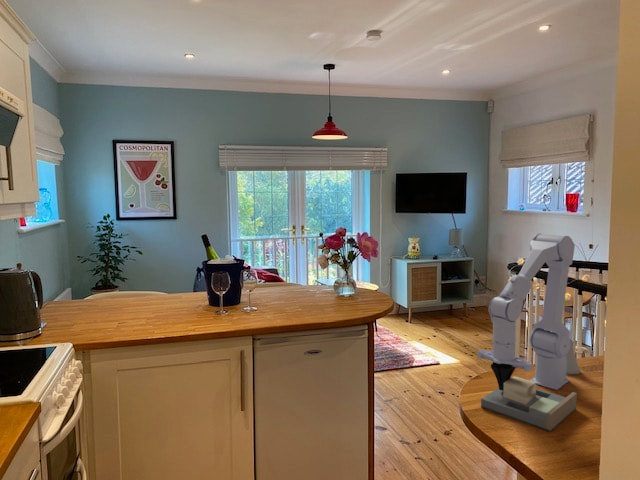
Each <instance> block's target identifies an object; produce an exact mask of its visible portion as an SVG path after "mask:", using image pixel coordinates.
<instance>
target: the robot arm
mask: <svg viewBox="0 0 640 480" xmlns="http://www.w3.org/2000/svg"><path fill="white" fill-rule="evenodd" d="M575 246H576V245H575V243H574V241H573V239H572V238H571V236H569V235H555V234H543V233H541V232H540V233H536V234H534V236H533V237H532V239H531V241H530V243H529V254H528V256H527V257H526V260H525V261H524V263H523V265H522V268H521V269H520V271H519V273H518V274H514V275H512V276H511V278H510V279H509V280H508V282H507V284H506V285H505V286H504V288H503V289H502V291H501V292H500V294H499V296H496V297H493V298H492V299H491V300H490V302H489V306H488V307H487V309H488V313H489V316H490V321H491V323H492V351H491V350H490V351H489V350H485V349H480V350H477V358H478V359H480V360H481V359H485V360H486V361H487V360H488V361H492V363H491V364H490V369H491V370H492V372H493V373H494V375H495V376H494V377H495V378H496V381H497V385H498V388H499V390H502V391H504V382H506V381H507V380H509V379H510V378H512V376H513V373H514V372H515V370H516V369H521V370H524V371H525V372H531V371H532V370H533V362H531V361H527V360H525V359H522V358H520V357H518V356H516V337H517V335H516V333H517V332H516V329H517V328H516V327H517V325H516V324H517V322H516V321H517V320H518V318H520V317H521V314H522V309H523V306H524V303H523V302H524V301H525V299H526V297H527V295H528V294H529V293H530V291H531V289H532V287H533V286H532V282H531V281H532V280H533V278H534V277H536V274H537V273H538V272H539V271H540V270H541V268H542V267H543V265H544V264H546V265H547V267H548V272H547V280H546V287H545V293H544V294H545V295H544V299H543V300H544V301H543V302H544V303H543V308H542V309H543V311H542V316H541V319H540V320H539V321H537V322H535V323H533V327H532V330H531V332H530V334H529V344H530V346H531V348H532V349H533V352H534V353H535V373H534V377H533V378H531V379H529V381H533V382H536V385H538V386H542V387H545V388H548V389H552V390H556V391H557V390H559V389H560V388H562V387H564V385H565V384H567V383H568V382H569V381H571V379H570V378H567V374H566V370H567V359H566V356H565V355H566V354H567V353H568V352H569V350H570V346H571V342H570V339H571V338H570V337H571V331H570V329H568V327H567V326H566V325H565V324H564V323H563V322H562V321H563V314H564V306H565V299H566V294H567V293H566V292H567V286H568V279H569V277H568V276H569V270H570V266H571V265H573V260H574V255H575V254H574V253H575Z"/></svg>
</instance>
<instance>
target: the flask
mask: <svg viewBox="0 0 640 480" xmlns="http://www.w3.org/2000/svg"><path fill="white" fill-rule="evenodd" d="M570 342H571V346H570V350H569V352H568V353H567V354H566V355H565V356H566V359H567V370H566V375H580V373H581V369H580V366H579V364H578V363H579V362H578V361H577V358H576V355H575V350H574V342H575V340H574V339H573V338H570Z"/></svg>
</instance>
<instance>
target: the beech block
mask: <svg viewBox="0 0 640 480" xmlns="http://www.w3.org/2000/svg"><path fill="white" fill-rule="evenodd" d="M536 389H537V384H536V382H533V381H530V379H529V380H528V379H525V378H522V377H520V376H519V377H518V376H515V375H514V376H511V378H510V379H509V380H507V381H506V382H504V393H503V397H505V398H508V399H511V400H514V401H517V402H520V403H523V404H527V403H528V402H529V401H531V400H532V399H534V398H535V397H536Z"/></svg>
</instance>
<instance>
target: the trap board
mask: <svg viewBox="0 0 640 480" xmlns="http://www.w3.org/2000/svg"><path fill="white" fill-rule="evenodd" d="M503 393H504V391H502V390H499V387H497V388H495V390H493V391H491V392H490V393H488V394H486V395H484V396H483V397H481V399H480V401H481V402H480V408H481V409H484V410H487V411H489V412H492V413H496V414H497V415H501V416H504V417H506V418H510V419H512V420H514V421H517V422H521V423H523V424H525V425H529V426H531V427H535V428H537V429H540V430H543V431H545V432H549V433H551V432H553V431H554V430H555V429H556V428H557V427H558V426H559V425H561V424H562V422H564V421H565V420H566V419H567V418H569V417H570V416H571V415H572V414H573V413H574V412H576V410H577V401H578V400H577V397H578V396H577V395H578V394H577V392H574V391H572V392H571V393H569V394H568V395H567V396H563V395H559V394H556V393H552V392H549V391H545V390H542V389H539V388H536V397H535V398H534V399H532V400H531V401H529V402H528V403H527V404H523V403H520V402H517V401H514V400H511V399H508V398H505V397H503Z"/></svg>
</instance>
